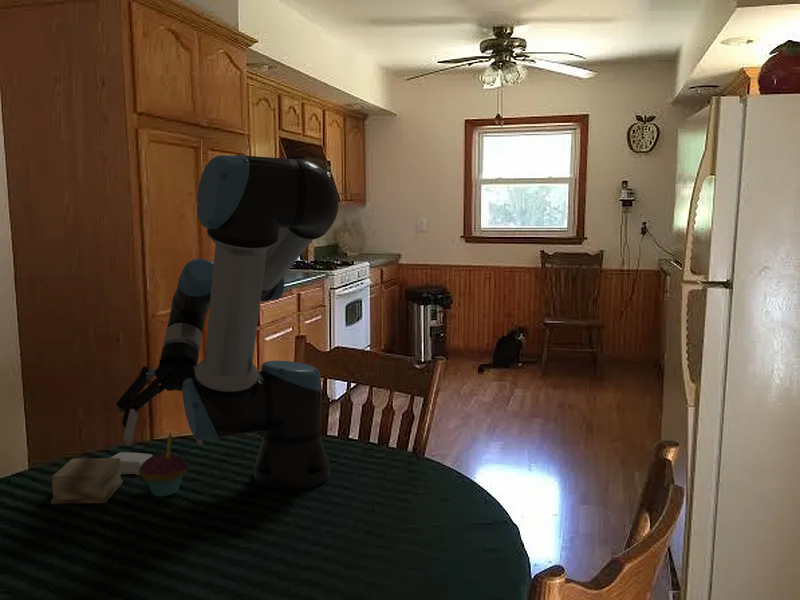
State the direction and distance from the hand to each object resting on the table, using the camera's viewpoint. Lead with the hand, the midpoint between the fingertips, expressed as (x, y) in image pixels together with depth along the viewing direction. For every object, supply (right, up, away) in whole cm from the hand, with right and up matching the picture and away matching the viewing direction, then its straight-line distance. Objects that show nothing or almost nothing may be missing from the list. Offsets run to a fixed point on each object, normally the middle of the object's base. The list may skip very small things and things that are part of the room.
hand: (163, 442), depth 131 cm
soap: (-10, -8, +10) cm, 16 cm away
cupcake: (+1, -9, -2) cm, 9 cm away
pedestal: (-13, -9, -3) cm, 16 cm away
